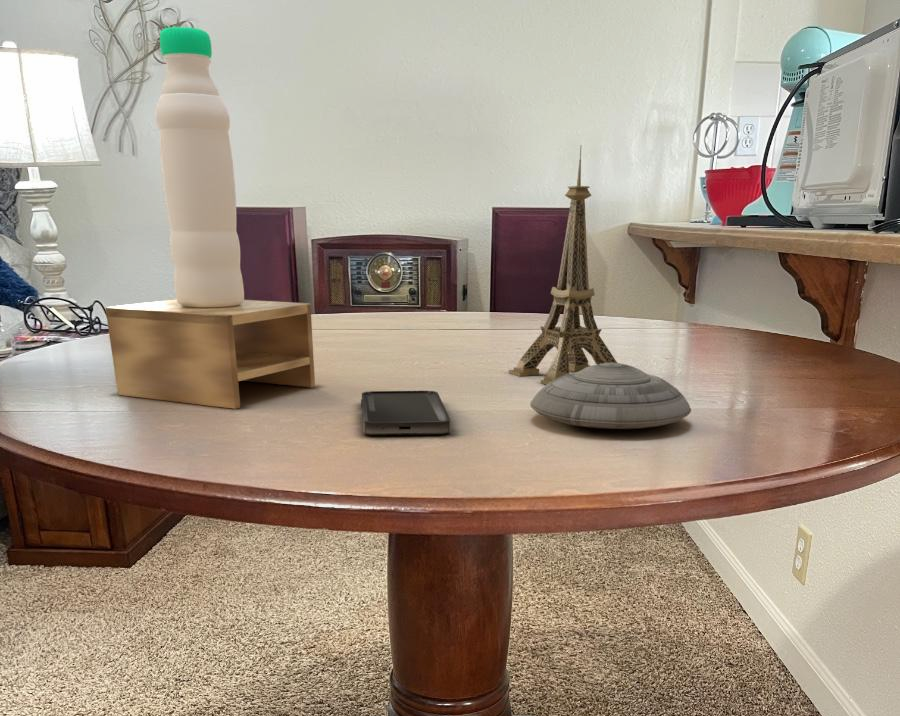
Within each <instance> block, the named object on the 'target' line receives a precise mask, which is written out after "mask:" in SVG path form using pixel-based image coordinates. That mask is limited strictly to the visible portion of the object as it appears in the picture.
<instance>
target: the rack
mask: <svg viewBox="0 0 900 716" xmlns="http://www.w3.org/2000/svg"><path fill="white" fill-rule="evenodd" d="M105 315H106V321H107V328H108V335H109V336H108V337H109V342H110V343H109V344H110V349H111V355H112V356H111V358H112V365H113V370H114V377H115V384H116V391H117V395H118V396H125V397H133V398H140V399H149V400H157V401H158V400H159V401H167V402H174V403H184V404H191V405H200V406H209V407H217V408H223V409H232V410H238V409H240V408H241V397H240V387H239V382H241V381H243V382H252V383H253V382H254V383H261V384H262V383H263V384H271V385H282V386H292V387H300V388H309V389H311V388H315V387H316V378H315V377H316V376H315V360H314V359H315V358H314V343H313V340H314V339H313V325H312V324H313V323H312V304H311V303H309V302H293V301H291V302H290V301H277V300H276V301H275V300H273V301H272V300H256V299H244V301H243V302H242V303H241V304H240V305H238V306H232V307H219V308H194V307H185V306H182V305H180V304H179V303H178V302H177V300H176V299H168V300H159V301H151V302H141V303H131V304H123V305H115V306H106V307H105Z"/></svg>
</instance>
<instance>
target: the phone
mask: <svg viewBox="0 0 900 716" xmlns="http://www.w3.org/2000/svg"><path fill="white" fill-rule="evenodd" d="M360 408H361V411H362V412H361V413H362V432H363V434H365V435H367V436H368V435H369V436H410V435H411V436H412V435H413V436H414V435H415V436H416V435H417V436H418V435H420V436H421V435H422V436H423V435H444V434H445V435H446V434H449V433H450V432H451V418H450V415H449V414H448V411H447V409H446V407H445V405H444V403H443V400H442V399H441V396H440V394H439V392H438V391H434V390H370V391H369V390H368V391H364V392H362V393H361V398H360Z"/></svg>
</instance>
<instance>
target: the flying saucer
mask: <svg viewBox="0 0 900 716" xmlns="http://www.w3.org/2000/svg"><path fill="white" fill-rule="evenodd" d="M529 406H530V407H531V409H532V410H533V411H534V412H536V413H537V414H538V415H540V416H542V417H544V418H547V419H549V420H552V421H555V422H558V423H562V424H566V425H572V426H576V427H584V428H592V429H604V430H634V429H637V430H638V429H646V428H655V427H660V426H665V425H670V424H673V423H676V422H679V421H680V420H682V419H684V418H686V417H688V416H689V415H690V414H691V413H692V408H691V406H690V403H689V402H688V400H687V399H686V397H685V396H684V395H683V394H682V392H681V391H680V390H679V389H678V388H677V387H675V386H674V385H673V384H671V383H670V382H668V381H667V380H665V379H663V378H661V377H659V376H656V375H653V374H648V373H646V372H645V371H643V370H642V369H640V368H637V367H634V366H632V365H628V364H625V363H620V362H617V363H601V364H593V365H590V367H587V368H584V369H582V370H580V371H579V372H573V371H572V372H569V373H568V374H565V375H563V376H561V377H559V378H557V379H555V380H553V381H551V382H550V383H548V384H547V385H546V384H544V386H543V387H541V389H539V391H537V393H536V394H535V395H534V397H533V398H532V400H531V402H530V403H529Z"/></svg>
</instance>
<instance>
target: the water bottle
mask: <svg viewBox="0 0 900 716" xmlns="http://www.w3.org/2000/svg"><path fill="white" fill-rule="evenodd" d="M159 47H160V53H161V55H162V56H163V57H162V60H163V62H164V63H165V64H166V66H167V75H166V76H165V79H164V81H163V84H162V86H161V95H160V96H159V98H158V101H157V104H156V108H155V122H156V123H155V124H156V126H157V128H158V130H159V150H160V151H159V152H160V153H159V155H160V165H161V175H162V185H163V192H164V200H165V208H166V213H167V221H168V224H169V229H170V235H169V247H170V254H171V255H170V256H171V260H172V264H173V268H174V269H173V271H174V272H173V282H174V294H175V300H177V302H178V303H179V304H180V305H182V306H185V307H194V308H219V307H232V306H238V305H240V304H241V303H242V302H243V301H244V300H245V289H244V280H243V274H242V271H241V245H240V239H239V235H238V232H237V197H236V196H237V195H236V183H235V173H234V172H235V171H234V162H233V154H232V146H231V141H230V135H229V130H230V127H231V121H230V114H229V111H228V110H227V107H226V105H225V103H224V101H223V99H222V97H220V96H219V89H218V88H217V85H216V84H215V82H214V80H213V79H212V78H211V76H210V72H209V67H210V64H211V63H212V60H211V58H212V54H213V53H212V41H211V37H210V35H209V34H208V32H206V31H205V30H203V29H201V28H196V27H189V26H188V27H187V26H170V27H165V28H163V29H162V30H161V31H160V33H159Z"/></svg>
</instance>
